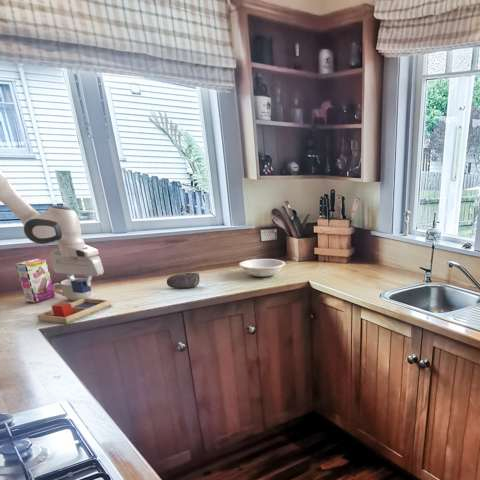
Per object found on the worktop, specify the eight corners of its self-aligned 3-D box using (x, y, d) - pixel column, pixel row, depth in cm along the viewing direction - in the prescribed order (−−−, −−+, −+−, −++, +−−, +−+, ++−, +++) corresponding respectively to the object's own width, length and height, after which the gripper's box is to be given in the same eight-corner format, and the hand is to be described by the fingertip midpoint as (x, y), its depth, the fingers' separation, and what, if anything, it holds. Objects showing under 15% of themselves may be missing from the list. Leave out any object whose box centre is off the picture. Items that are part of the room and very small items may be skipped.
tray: (38, 321, 176) (37, 315, 175) (85, 303, 197) (84, 298, 196) (66, 324, 174) (65, 317, 173) (111, 306, 195) (109, 300, 194)
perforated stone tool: (167, 290, 219) (164, 275, 216) (168, 287, 224) (165, 272, 221) (200, 288, 224) (198, 274, 221) (200, 285, 228) (199, 271, 225)
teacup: (95, 294, 209) (91, 277, 206) (90, 301, 200) (86, 283, 196) (60, 296, 205) (55, 278, 202) (53, 303, 196) (48, 285, 192)
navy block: (73, 292, 185) (70, 281, 184) (81, 289, 189) (79, 278, 188) (83, 293, 185) (80, 282, 183) (91, 290, 189) (89, 279, 187)
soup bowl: (270, 268, 265) (270, 257, 263) (294, 276, 250) (293, 264, 247) (232, 274, 251) (230, 262, 248) (254, 283, 235) (253, 270, 232)
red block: (54, 316, 178) (51, 305, 176) (63, 313, 182) (60, 302, 180) (64, 317, 177) (61, 306, 175) (73, 314, 181) (70, 303, 179)
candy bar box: (36, 303, 196) (25, 264, 188) (25, 302, 196) (14, 263, 189) (56, 296, 206) (46, 258, 199) (46, 295, 206) (35, 258, 199)
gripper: (43, 250, 179) (53, 285, 185) (90, 253, 176) (98, 289, 182) (56, 247, 185) (65, 281, 191) (101, 250, 182) (109, 285, 188)
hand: (81, 285), depth 186 cm, fingers closed on navy block, 4 cm apart
